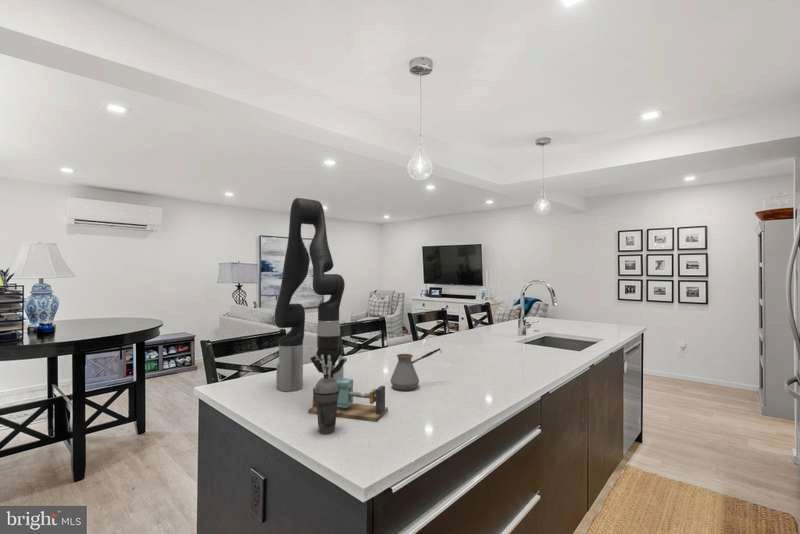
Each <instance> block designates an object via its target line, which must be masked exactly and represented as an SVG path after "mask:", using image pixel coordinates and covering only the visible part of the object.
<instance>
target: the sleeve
mask: <svg viewBox="0 0 800 534" xmlns="http://www.w3.org/2000/svg"><path fill="white" fill-rule="evenodd" d="M336 381H337V383H338V386H339V390H340V391H339V396H338V401H337V407H344V408H347V407H348V406H349V405H351V404H352V403H354V397H351V396H348V391H350V392H354V378H347V377H346V378H345V377H343V378H338V379H336Z"/></svg>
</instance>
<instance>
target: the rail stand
mask: <svg viewBox="0 0 800 534" xmlns="http://www.w3.org/2000/svg"><path fill="white" fill-rule="evenodd" d="M314 391H315V387H314V388H312V407H310V408H308V411H307V414H310V415H317V403H316V398H315V393H314ZM348 396H351V397H353V398H354V397H355V398H361V399H369V404H363V403H354V402H353V403H352V404H351V405H349V406H348V407H347V408H344V407H337V413H336V418H343V419H349V420H350V419H351V420H359V421H365V422H366V421H367V422H375V423H378V422H379V421H380V420H381V419H382V418H383V417H384V416H385V415H386V413H388V412H389V408H388V406H387V407H386V386H385V385H379V386H378V387H377V388H373V389H372V390H371V391H370V392H369V393H368V392H367V393H366V392H358V391H353V392H350V391H348ZM374 403H375V405H373V404H374Z"/></svg>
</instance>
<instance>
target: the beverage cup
mask: <svg viewBox="0 0 800 534" xmlns="http://www.w3.org/2000/svg"><path fill="white" fill-rule="evenodd" d="M331 367H332V362H330V369H329V377H324V376H323V377H321V378H320V379H319V380H317V382H316V385H315V387H314V388H315V391H314V393H315V398H316V403H317V414H316V415H317V416H316V417H317V426H318V433H319V434H322V435H331V434H333V433H335V430H336V429H335V428H336V425H337V424H336V423H337V421H336V420H337V417H336V413H337V401H338V396H339V391H340V390H339V386H338V383H337V381H336V380H335V379H334V378H332V377H330V375H331Z"/></svg>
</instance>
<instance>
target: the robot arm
mask: <svg viewBox="0 0 800 534" xmlns="http://www.w3.org/2000/svg"><path fill="white" fill-rule="evenodd" d="M302 224H303V225H312V226H313V227H314V235H313V238H312V239H311V241H310V244H309V249H307V247H306V245H305V243H304V241H303V237H302ZM327 234H328V233H327V226H326V217H325V210H324V206H323V205H322V202H320V201H319V200H315V199H310V198H301V197H296V198H295V199H294V200H293V201H292V203H291V206H290V214H289V227H288V239H287V245H286V251H285V255H284V256H285V257H284V262H283V270H282V276H281V277H282V278H281V284H280V289H279V293H278V294H279V295H278V299H277V302H276V306H275V310H274V324H275V326H276V327H277V328H278V329H288V328H290V331H289V332H287V333H286V334H283V335H282V336H281V337H279V339H278V363H277V364H276V390H279V391H282V392H294V391H299V390H302V388H303V387H304V384H303V383H304V338H305V323H306V321H305V320H306V312H305V308H304V306H303V304H301V303H291V300H292V298H293V296H294V294H295V293H296V291H297V290H298V289H299V287H300V286H301V285H302V284H303V283H304V281H305V280H306V278H307V276H308V273H309V268H310V261H311V265H312V271H313V272H312V291H314V293H315V294H316V295H317V296H330V297H329V299H328V300H326V301H324V302H321V303H319V304H318V307H317V325H316V326H317V328H316V332H317V333H316V336H317V337H316V343H317V344H316V345H317V346H316V347H317V350H316V353H315V355H313V356H311V357H310V361H311V362H312V364H313V365H314V367H315V368H316V370H317V373H322V374H323V377H329V369H330V362H332V367H331V375H330V377H332V378H333V374H335V373H337V372H339V370H340V369H341V368H342V366H344V365H345V364H346V362H347V361H348V359H347V357H344V356H343V355H342V352H341V349H340V348H341V325H340V324H341V323H340V307H341V302H342V299H343V295H344V291H345V287H346V285H345V279H344V277H343V276H342V275H341V274H339V273H327V272H330V271H331V270H332V269H333V268H334V261H333V256H332V253H331V250H330V247H329V243H328V236H327ZM335 364H337V366H336V367H335Z"/></svg>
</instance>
